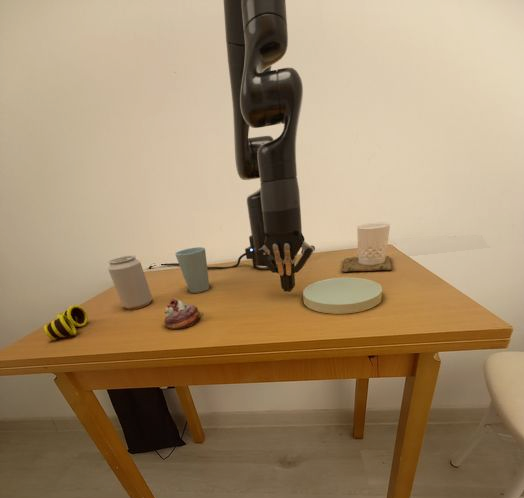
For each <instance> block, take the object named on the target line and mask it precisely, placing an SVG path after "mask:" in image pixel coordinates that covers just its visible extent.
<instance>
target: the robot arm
mask: <svg viewBox="0 0 524 498" xmlns="http://www.w3.org/2000/svg"><path fill="white" fill-rule="evenodd" d="M222 1H223V13H224V14H223V15H224V16H223V17H224V30H225V31H224V32H225V44H226V56H227V57H226V58H227V65H228V74H229V76H228V77H229V84H230V91H231V92H230V93H231V103H232V115H233V116H232V117H233V120H232V121H233V141H234V143H233V145H234V146H233V147H234V161H235V168H236V172H237V175H238V177H239V179H240V180H243V181H250V180H258V179H259V182H260V183H259V184H260V188H259V189H257V190H256V191H254V192H253V193H251V194H249V195H247V197H246V207H247V213H248V220H249V226H250V227H249V228H250V234H251V235H249V237H248V240H249V246H248V247H246V248H244V252H243V254H241V255H240V256H239V257H238V259H237V262H236V263H235V264H234V265H231V266H207V270H226V269H233V268H236V267H238V266H239V265H240V263H241V260H242V259H243V258H244V257H245V258H246V260H251V261H252V267H253V269H257V270H264V271H265V270H269V271H270V272H271V273H272V274H275V273H276V274H278V275H279V278H280V287H281V289H282V290H283V292H285V293H286V292H287V293H290V292H292V291H293V289H294V288H295V286H296V280H295V279H296V278H295V274H297V273H299V272H300V271H301V270H302V269H303V267H304V266H305V265H306V264H307V262H308V260H309V259H310V257H311V256H312V254H313V253H314V252H315V249H316V247H315V245H313V244H312V245H310V244H308V242H306V240H305V236H304V235H303V232H302V231H303V229H302V214H301V213H302V212H301V197H300V196H301V194H300V186H299V181H298V170H297V169H298V167H297V136H298V128H299V127H298V126H299V122H300V118H301V117H300V116H301V111H302V107H303V106H302V105H303V98H304V86H303V85H304V84H303V81H302V78H301V76H300V74H299V72H298V71H297V70H296V69H295V68H293V67H283V68H277V69H273V70H272V66H273V65H275V64H276V63H278V62H280V61H281V60H282V59H283V57H284V56H285V55H286V54H287V51H288V48H289V47H288V46H289V33H288V32H289V31H288V19H287V18H288V17H287V4H286V0H222ZM282 124H283V129H282V132H281V133H280V134H279V136H278V137H276V138H275V139H274V137H272V136H271V135H262V136H261V135H260V136H254V137H249V134H250V128H253V129H258V128H259V129H261V128H265V127H271V126H276V125H282ZM300 250H301V252H300ZM299 252H300V253H301V256H300V258H299V260H298V261H297V263H296V258H297V257H296V256H297V255H298V253H299ZM155 266H156V265H154V266H151V265H149V267H148V270H151V269H152V268H153V267H155ZM160 266H180V265H179V262H172V263H171V262H170V263H165V264H161V265H160Z"/></svg>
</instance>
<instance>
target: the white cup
mask: <svg viewBox="0 0 524 498" xmlns="http://www.w3.org/2000/svg"><path fill="white" fill-rule="evenodd" d="M390 228H391V223H389V222H369V223H368V222H367V223H364V224H363V223H362V224H359V225H357V226H356V237H357V238H356V241H357V243H356V244H357V245H356V246H357V247H356V248H357V257H358V262H359V263H360V264H364V265H373V264H380V263H383V262H384V261H385V256H386V254H387V252H388V251H387V250H388V244H389V237H390V236H389V235H390Z"/></svg>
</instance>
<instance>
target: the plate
mask: <svg viewBox="0 0 524 498" xmlns="http://www.w3.org/2000/svg"><path fill="white" fill-rule="evenodd" d="M382 299H383V287H382V285H381V284H380V283H379V282H377V281H375V280H372V279H369V278H362V277H352V276H351V277H350V276H344V277H343V276H341V277H332V278H326V279H322V280H318V281H315V282H312V283H310V284H308V285H307V286H306V287H305V288H303V290H302V301H303V303H304V306H305V307H306V308H308V309H310V310H312V311H315V312H318V313H323V314H332V315H343V314H344V315H347V314H355V313H360V312H364V311H368V310H370V309H373V308H374V307H377V306H378V305H379V304H380V303H381V302H382Z"/></svg>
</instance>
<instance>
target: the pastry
mask: <svg viewBox="0 0 524 498" xmlns="http://www.w3.org/2000/svg"><path fill="white" fill-rule="evenodd" d="M164 314H165V318H164V325H165V327H166V328H168V329H171V330H173V329H174V330H175V329H177V330H178V329H184V328H188V327H191V326H192V325H194V324H195V323H197V321H198V320H199V319H200V317H201V313H200V311H199V309H198V307H197V306H195V305H194V304H185V302H184V301H182V300H177V299H176V298H171V299H170V301H169V303H168V304H167V306H166V308H165V312H164Z"/></svg>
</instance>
